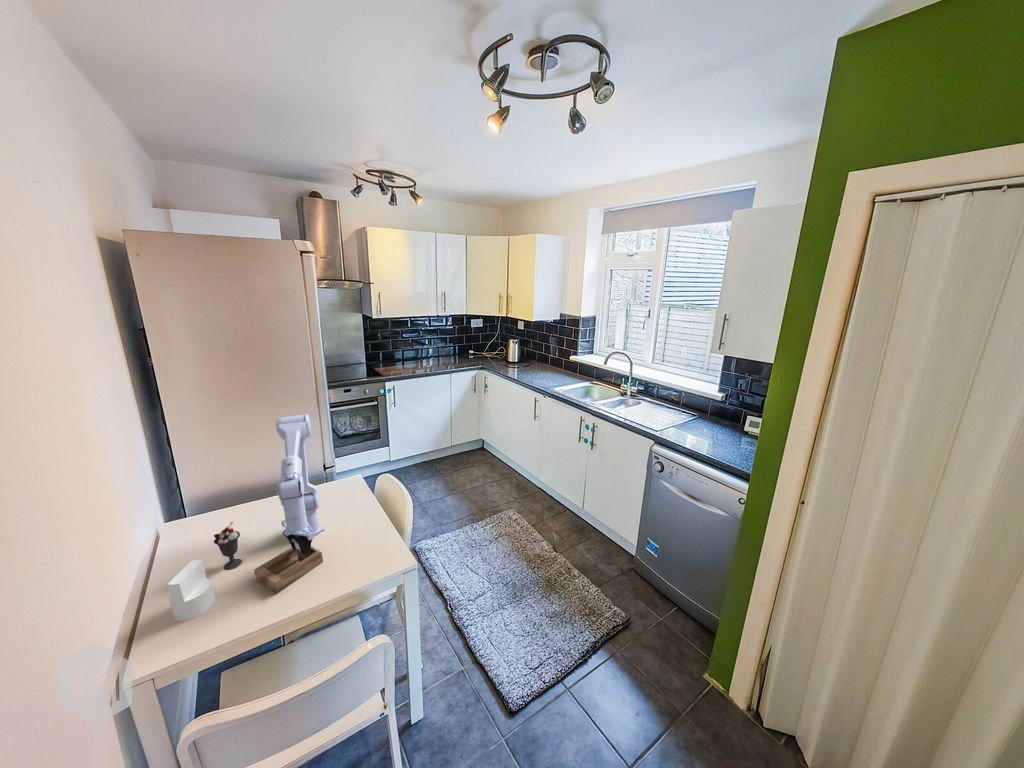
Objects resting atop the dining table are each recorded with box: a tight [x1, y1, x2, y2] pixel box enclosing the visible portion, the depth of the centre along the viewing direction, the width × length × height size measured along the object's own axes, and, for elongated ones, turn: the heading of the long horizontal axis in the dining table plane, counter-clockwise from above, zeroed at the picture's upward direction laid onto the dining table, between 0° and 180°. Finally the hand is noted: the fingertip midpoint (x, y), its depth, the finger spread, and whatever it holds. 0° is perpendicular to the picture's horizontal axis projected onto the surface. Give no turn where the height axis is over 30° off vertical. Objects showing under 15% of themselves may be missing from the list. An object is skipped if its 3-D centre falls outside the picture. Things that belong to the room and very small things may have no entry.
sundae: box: [213, 521, 243, 571], centre depth 120 cm, size 7×7×15 cm
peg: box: [291, 535, 310, 561], centre depth 121 cm, size 5×5×8 cm
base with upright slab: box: [167, 559, 216, 622], centre depth 104 cm, size 9×9×12 cm
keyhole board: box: [253, 546, 324, 594], centre depth 119 cm, size 11×15×4 cm
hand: (301, 550), depth 122 cm, fingers closed on peg, 4 cm apart
